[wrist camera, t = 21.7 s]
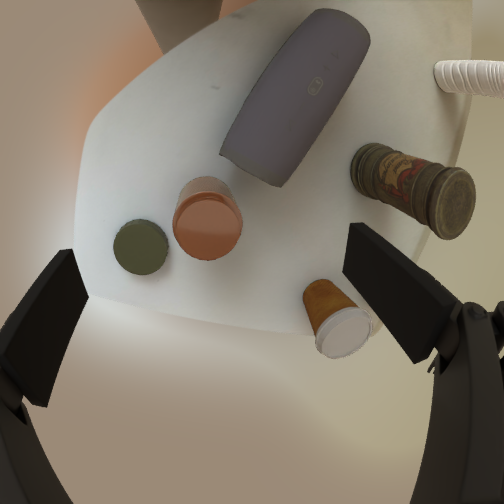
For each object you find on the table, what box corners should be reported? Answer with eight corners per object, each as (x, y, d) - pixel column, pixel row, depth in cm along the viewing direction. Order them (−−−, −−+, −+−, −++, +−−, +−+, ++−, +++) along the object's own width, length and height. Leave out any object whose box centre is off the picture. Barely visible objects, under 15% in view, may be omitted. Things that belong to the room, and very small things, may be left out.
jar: (175, 179, 34) (166, 199, 25) (231, 174, 35) (243, 191, 26) (181, 232, 38) (177, 267, 29) (234, 226, 39) (246, 260, 30)
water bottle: (428, 63, 31) (546, 69, 9) (446, 59, 30) (553, 66, 8) (443, 106, 35) (556, 131, 13) (459, 99, 34) (563, 121, 12)
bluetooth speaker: (272, 180, 37) (296, 200, 28) (212, 148, 33) (217, 157, 24) (349, 57, 30) (390, 45, 21) (297, 20, 26) (327, -5, 17)
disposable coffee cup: (287, 314, 48) (309, 363, 37) (303, 268, 44) (333, 313, 34) (331, 315, 50) (359, 358, 40) (349, 273, 47) (385, 313, 36)
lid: (172, 266, 40) (171, 272, 38) (123, 271, 38) (120, 277, 37) (164, 215, 36) (162, 220, 34) (111, 222, 35) (107, 227, 33)
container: (402, 167, 39) (484, 201, 23) (373, 207, 41) (449, 256, 26) (371, 130, 35) (462, 149, 20) (339, 173, 38) (422, 213, 22)
